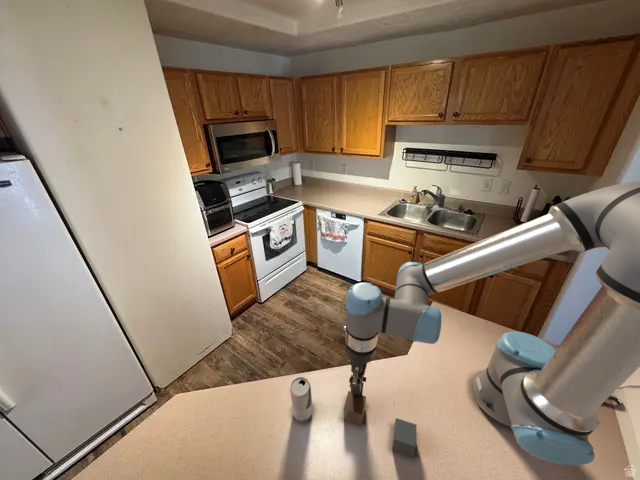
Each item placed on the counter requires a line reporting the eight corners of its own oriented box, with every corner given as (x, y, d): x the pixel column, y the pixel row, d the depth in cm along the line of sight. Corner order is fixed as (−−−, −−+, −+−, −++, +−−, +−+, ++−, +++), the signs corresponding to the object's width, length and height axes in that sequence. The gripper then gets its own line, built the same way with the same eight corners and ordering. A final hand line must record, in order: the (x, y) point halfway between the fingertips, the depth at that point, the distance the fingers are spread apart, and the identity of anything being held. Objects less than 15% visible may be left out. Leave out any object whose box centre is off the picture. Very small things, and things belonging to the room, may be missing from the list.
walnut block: (365, 406, 73) (366, 396, 71) (361, 425, 69) (362, 414, 67) (347, 400, 75) (348, 390, 72) (343, 418, 70) (343, 408, 68)
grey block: (413, 434, 67) (416, 424, 64) (412, 457, 62) (415, 447, 60) (393, 428, 68) (395, 417, 66) (391, 449, 64) (393, 439, 62)
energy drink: (315, 406, 73) (313, 380, 68) (307, 425, 69) (304, 400, 63) (299, 399, 75) (296, 373, 70) (290, 417, 71) (285, 391, 66)
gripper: (351, 317, 68) (349, 373, 80) (338, 359, 58) (338, 416, 69) (380, 324, 66) (373, 380, 78) (372, 368, 56) (366, 425, 67)
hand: (357, 397), depth 73 cm, fingers closed
